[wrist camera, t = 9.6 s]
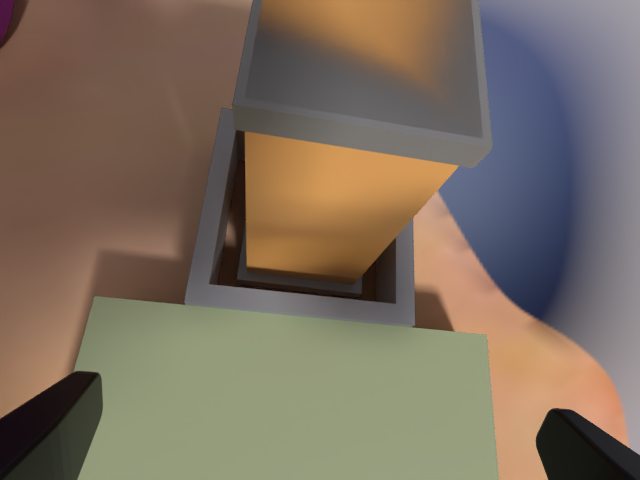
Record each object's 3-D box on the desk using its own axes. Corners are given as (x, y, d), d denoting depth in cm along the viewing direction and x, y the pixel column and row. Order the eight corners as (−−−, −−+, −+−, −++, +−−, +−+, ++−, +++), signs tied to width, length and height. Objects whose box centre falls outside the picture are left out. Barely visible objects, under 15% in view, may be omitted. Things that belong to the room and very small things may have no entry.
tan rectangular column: (357, 297, 20) (502, 157, 9) (237, 283, 19) (219, 111, 8) (362, 192, 22) (482, -31, 11) (254, 176, 22) (260, -80, 10)
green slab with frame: (520, 688, 16) (615, 788, 11) (-39, 695, 13) (-166, 824, 9) (476, 181, 24) (523, 136, 20) (126, 130, 21) (98, 66, 17)
